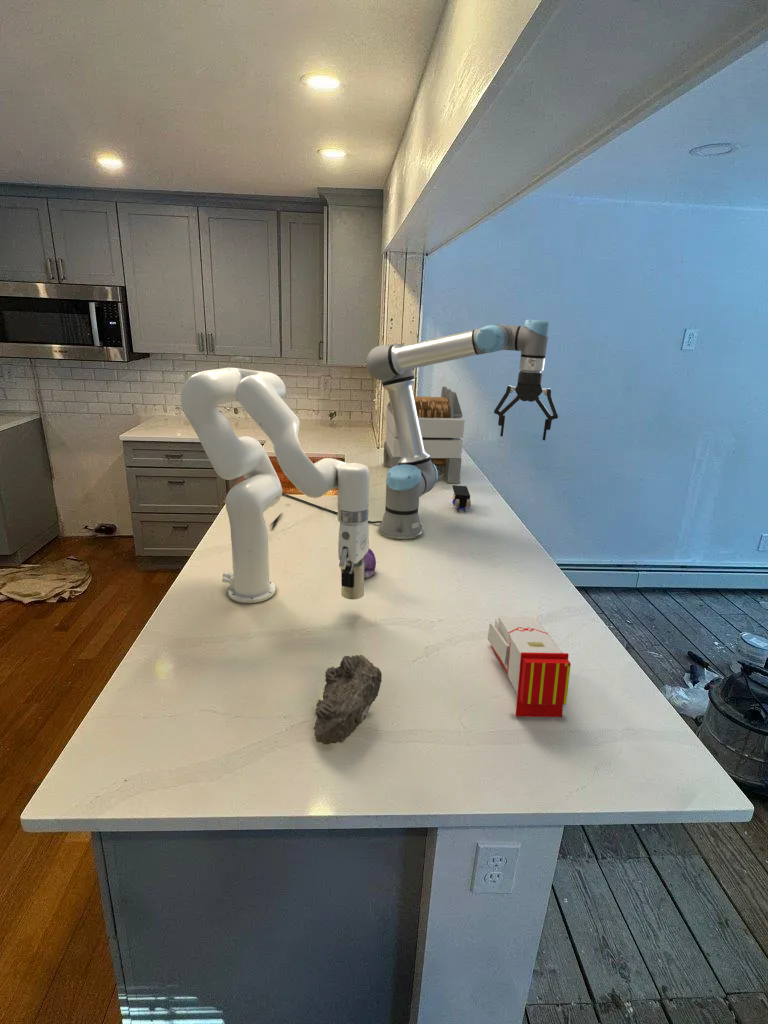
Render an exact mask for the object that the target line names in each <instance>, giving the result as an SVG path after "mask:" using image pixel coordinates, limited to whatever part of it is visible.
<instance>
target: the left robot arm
mask: <svg viewBox="0 0 768 1024" xmlns="http://www.w3.org/2000/svg"><path fill="white" fill-rule="evenodd" d="M286 395H287V387H286V385H285V382H284V381H283V380H282V378H280V376H278V375H277V374H275V373H272V372H270V371H262V370H254V369H246V368H239V367H221V368H217V369H216V368H215V369H207V370H203V371H199V372H197V373H196V372H195V374H192V375H191V376H190V377H188V379H187V380H185V382H184V383H183V386H182V388H181V392H180V404H181V408H182V411H183V413H184V415H185V417H186V419H187V420H188V422H189V424H190V425H191V428H192V429H193V431H194V432H195V433H196V435H197V438H198V439H199V442H200V444H201V446H202V448H203V450H204V453H205V454H206V456H207V458H208V461H209V462H210V464H211V466H212V468H213V470H214V472H215V473H216V474H217V476H218V477H219V478H221V479H223V480H226V481H230V480H235V479H237V478H239V477H240V478H241V477H242V476H243V480H242V481H240V482H238V483H236V484H235V485H233V486H232V487H231V488H230V490H229V491H228V492H227V494H226V496H225V508H226V513H227V517H228V521H229V528H230V543H231V559H232V572H229V571H224V572H223V573H222V579H221V582H222V583H225V584H229V587H228V589H227V594H228V597H229V598H230V599H231V600H233V601H235V602H238V603H242V604H253V603H254V604H255V603H261V602H264V601H266V600H268V599H270V598H272V597H273V596H274V595H275V593H276V584H275V583H274V582H272V581H270V553H269V552H270V550H269V549H270V547H269V530H268V525H267V522H266V520H265V517H264V513H265V512H266V511H267V510H268V509H270V508H272V507H274V506H275V505H276V504H278V503H279V502H280V500H281V498H282V496H283V495H282V493H283V487H282V483H281V481H280V478H279V476H278V474H277V472H276V469H275V468H274V466H273V464H272V462H271V460H270V457H269V455H268V452H267V451H266V449H265V448H264V446H263V445H262V443H261V442H259V440H257V439H256V438H254V437H252V436H247V435H243V436H238V437H237V435H236V433H235V432H234V429H233V428H232V424H231V423H230V421H229V420H228V418H227V417H226V416H225V415H224V414H223V413H222V412H221V411H220V410H218V405H223V404H227V403H231V402H238V403H239V404H240V406H241V407H242V408H243V409H244V411H245V412H246V413H247V414H248V415H249V417H250V418H251V419H252V420H253V421H254V423H256V425H257V426H258V427H259V428H260V429H261V431H262V432H263V433H264V434H265V435H266V436H267V438H269V440H270V441H271V443H272V446H273V451H274V455H275V457H276V460H277V462H278V465H279V467H280V469H281V471H282V473H283V474H284V475H285V476H286V478H287V479H288V481H290V482H291V484H292V485H293V486H294V487H295V488H296V489H297V490H298V491H299V492H300V493H301V494H303V495H304V496H306V497H307V498H311V499H316V498H321V497H322V496H325V495H326V494H327V493H329V492H330V491H333V490H335V489H337V512H338V514H337V521H338V523H339V528H338V541H337V542H338V543H337V557H338V560H339V562H338V563H339V564H338V567H339V568H340V573H341V577H340V578H341V582H340V583H341V587H342V586H344V587H350V588H353V587H354V573H353V567H354V563H355V564H356V563H358V562H359V561H360V560H361V559H362V560H363V561H364V556H365V554H366V553H367V552H368V550H369V548H370V533H369V532H370V531H369V523H368V521H369V516H370V515H369V512H370V511H369V510H370V507H369V505H370V498H369V497H370V469H369V467H368V466H367V465H366V464H364V463H360V462H346V461H342V460H339V459H336V458H331V457H325V458H322V459H319V460H318V461H316V462H314V463H313V462H312V460H311V459H310V458H309V457H308V455H307V454H306V453H305V451H304V450H303V448H302V446H301V444H300V440H299V431H300V426H301V420H300V419H299V417H298V416H297V415H296V414H295V413H294V411H293V410H292V409H291V408H290V406H289V405H288V404H287V403H286V402H285V398H286ZM347 558H350V560H351V561H350V560H347ZM346 563H350V568H349V566H347V564H346Z"/></svg>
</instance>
